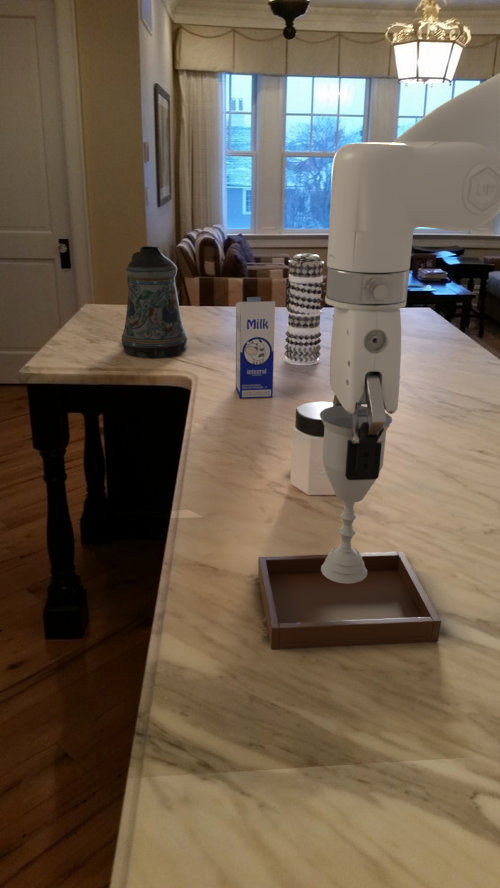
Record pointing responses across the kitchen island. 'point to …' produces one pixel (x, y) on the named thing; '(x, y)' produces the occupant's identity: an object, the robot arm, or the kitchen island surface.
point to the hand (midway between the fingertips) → (353, 461)
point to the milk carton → (255, 348)
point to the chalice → (344, 492)
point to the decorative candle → (304, 309)
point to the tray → (344, 603)
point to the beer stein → (153, 307)
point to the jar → (309, 451)
